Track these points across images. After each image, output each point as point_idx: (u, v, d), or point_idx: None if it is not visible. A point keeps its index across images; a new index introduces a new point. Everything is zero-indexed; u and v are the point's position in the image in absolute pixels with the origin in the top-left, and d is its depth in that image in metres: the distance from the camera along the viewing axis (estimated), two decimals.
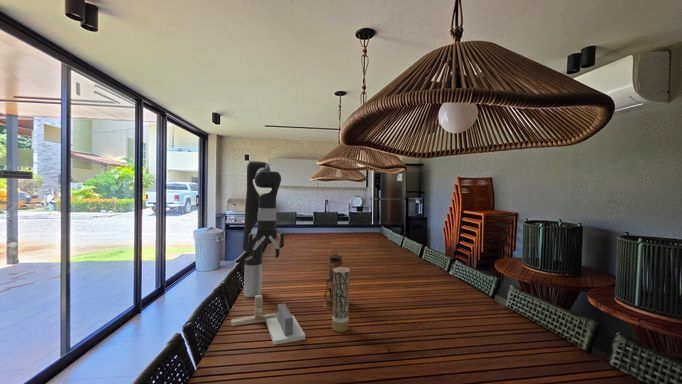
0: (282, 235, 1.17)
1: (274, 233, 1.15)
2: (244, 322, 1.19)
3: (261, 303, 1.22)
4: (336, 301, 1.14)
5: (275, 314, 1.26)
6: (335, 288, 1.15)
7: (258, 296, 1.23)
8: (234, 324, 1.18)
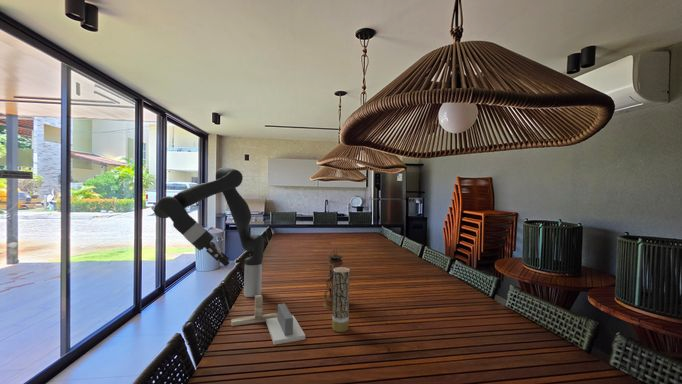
0: (208, 252, 1.10)
1: None
2: (244, 322, 1.19)
3: (261, 303, 1.22)
4: (336, 301, 1.14)
5: (275, 314, 1.26)
6: (335, 288, 1.15)
7: (258, 296, 1.23)
8: (234, 324, 1.18)
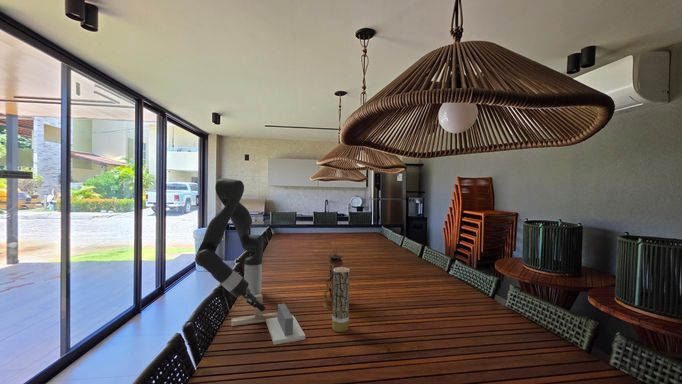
0: None
1: (243, 296, 1.18)
2: (244, 322, 1.19)
3: (261, 302, 1.22)
4: (336, 301, 1.14)
5: (275, 313, 1.26)
6: (335, 288, 1.15)
7: (258, 295, 1.23)
8: (234, 323, 1.18)
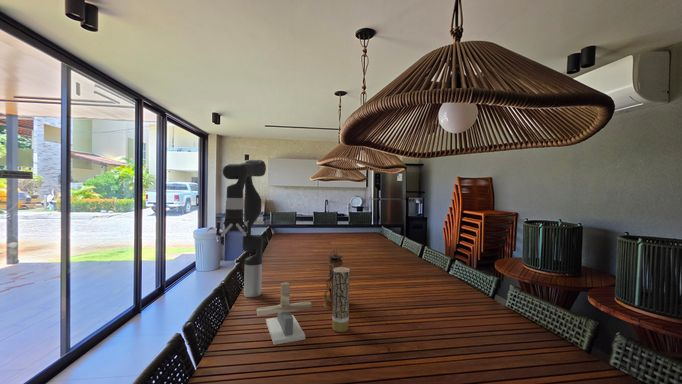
0: (249, 223, 1.26)
1: (241, 221, 1.25)
2: (270, 312, 1.11)
3: (288, 291, 1.14)
4: (336, 301, 1.14)
5: (302, 303, 1.18)
6: (335, 288, 1.15)
7: (285, 284, 1.15)
8: (260, 313, 1.09)
